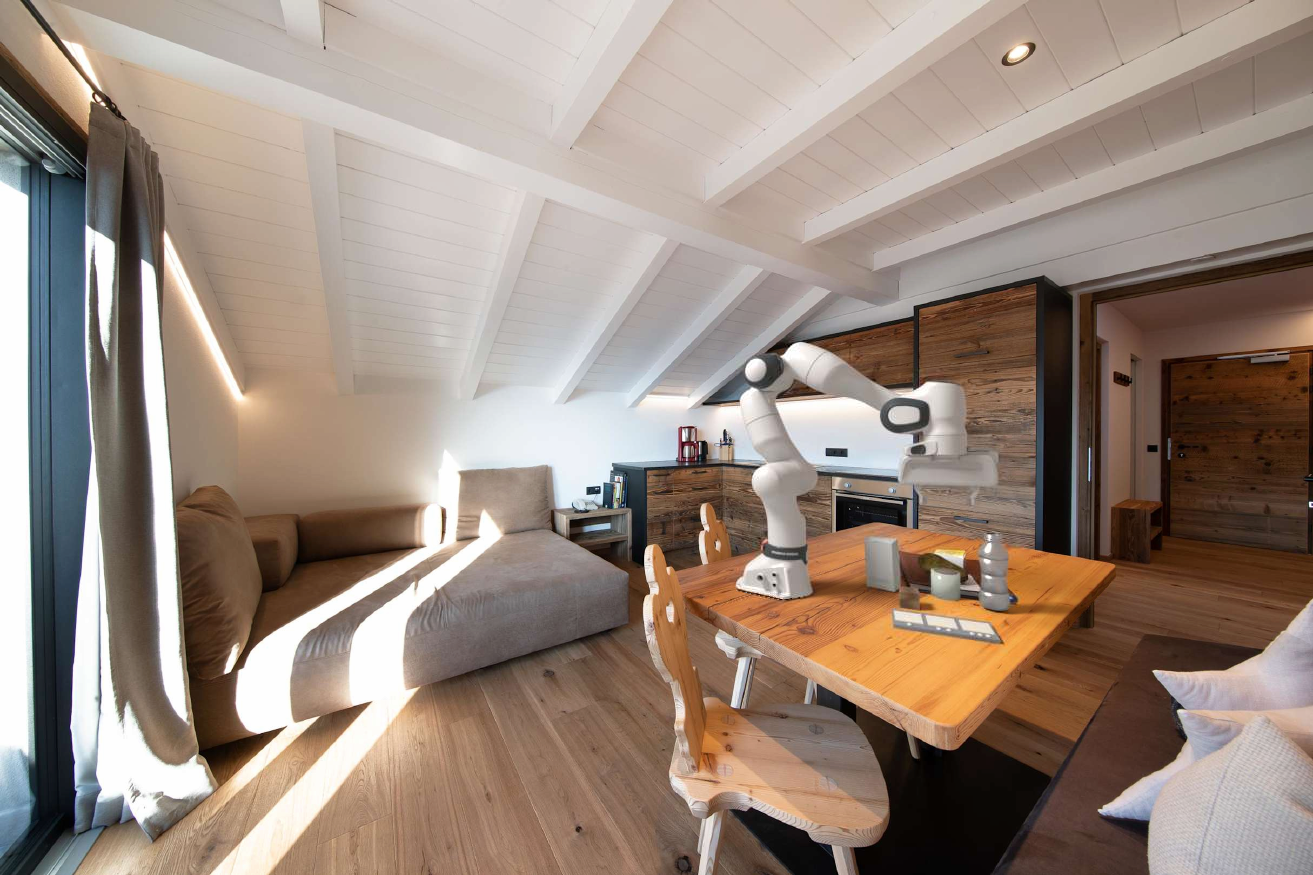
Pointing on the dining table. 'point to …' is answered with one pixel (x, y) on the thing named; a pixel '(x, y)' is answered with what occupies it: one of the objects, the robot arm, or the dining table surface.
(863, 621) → the dining table surface
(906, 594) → the marker cube
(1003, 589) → the plastic bottle
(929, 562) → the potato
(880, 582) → the skincare box
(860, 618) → the dining table surface
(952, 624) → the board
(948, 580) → the sage mug
